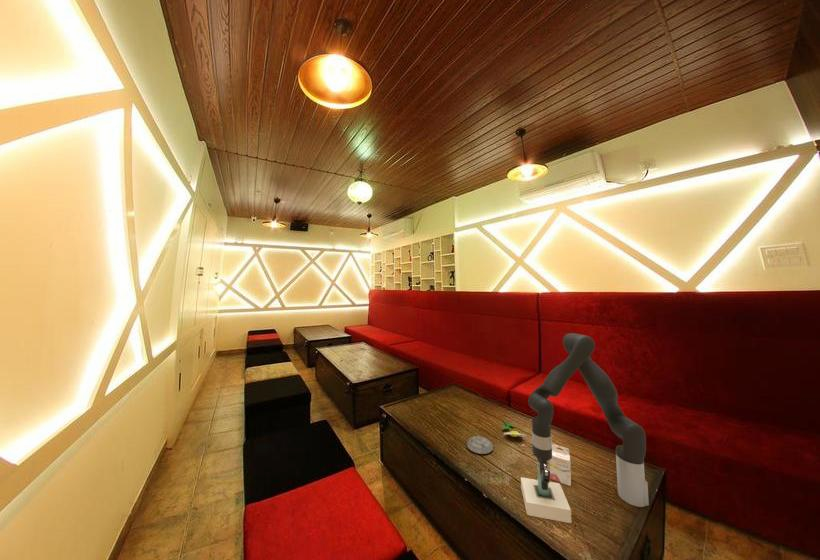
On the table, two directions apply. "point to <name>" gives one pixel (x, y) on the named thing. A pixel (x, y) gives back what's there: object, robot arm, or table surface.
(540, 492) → the peg
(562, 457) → the ink cartridge box
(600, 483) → the table surface
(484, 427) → the table surface
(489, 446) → the flying saucer
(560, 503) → the socket board
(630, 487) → the robot arm
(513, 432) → the decorative flower
